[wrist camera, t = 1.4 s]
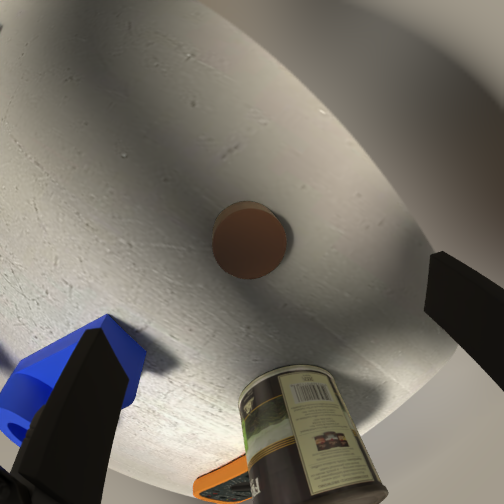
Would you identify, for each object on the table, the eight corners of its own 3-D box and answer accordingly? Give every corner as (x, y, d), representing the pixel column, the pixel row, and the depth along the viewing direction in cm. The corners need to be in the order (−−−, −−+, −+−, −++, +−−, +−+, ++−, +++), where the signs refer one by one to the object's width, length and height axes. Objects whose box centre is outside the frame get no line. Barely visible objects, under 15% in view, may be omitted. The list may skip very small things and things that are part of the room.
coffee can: (252, 434, 28) (271, 540, 15) (224, 380, 25) (239, 523, 12) (338, 410, 29) (380, 509, 16) (333, 350, 25) (399, 477, 12)
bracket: (62, 420, 25) (46, 466, 18) (8, 373, 22) (-17, 416, 15) (164, 366, 23) (154, 436, 16) (89, 294, 20) (49, 354, 13)
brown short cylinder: (206, 208, 19) (204, 217, 17) (273, 194, 19) (281, 201, 17) (220, 270, 21) (221, 286, 18) (283, 257, 21) (291, 271, 19)
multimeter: (186, 479, 32) (186, 498, 29) (270, 434, 29) (275, 457, 26) (230, 491, 35) (232, 507, 32) (314, 447, 32) (321, 467, 28)
